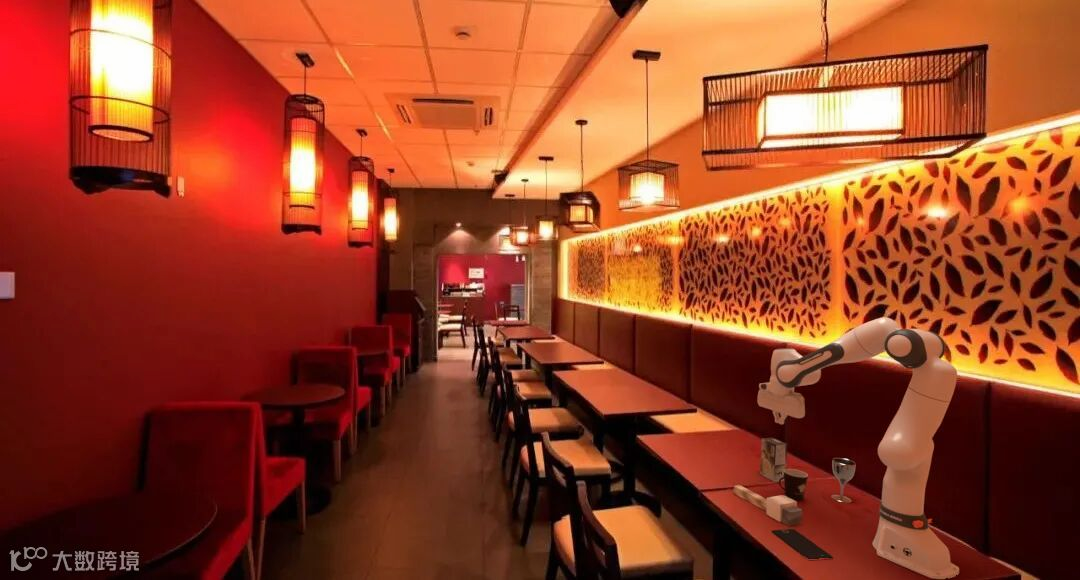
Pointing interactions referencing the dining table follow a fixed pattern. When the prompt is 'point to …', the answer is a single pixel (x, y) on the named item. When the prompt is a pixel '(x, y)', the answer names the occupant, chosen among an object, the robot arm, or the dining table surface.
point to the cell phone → (801, 544)
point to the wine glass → (843, 475)
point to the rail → (789, 514)
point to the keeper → (778, 506)
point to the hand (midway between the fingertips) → (779, 423)
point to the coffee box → (773, 459)
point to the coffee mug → (794, 484)
